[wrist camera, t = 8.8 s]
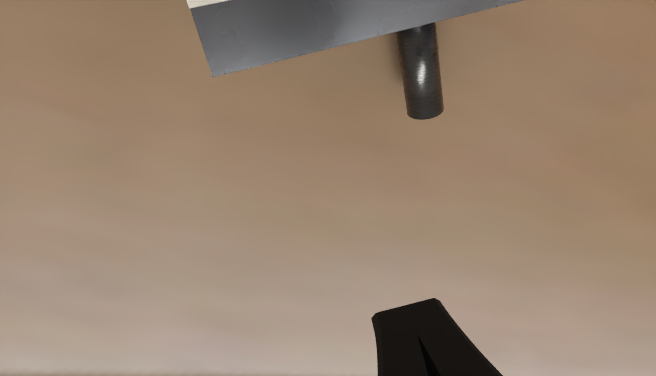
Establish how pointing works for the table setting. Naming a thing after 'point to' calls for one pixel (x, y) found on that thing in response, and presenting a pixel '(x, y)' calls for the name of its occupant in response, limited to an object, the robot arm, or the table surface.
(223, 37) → the grey slab
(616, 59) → the table surface
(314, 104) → the table surface
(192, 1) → the white rectangular block
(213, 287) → the table surface
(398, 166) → the table surface
